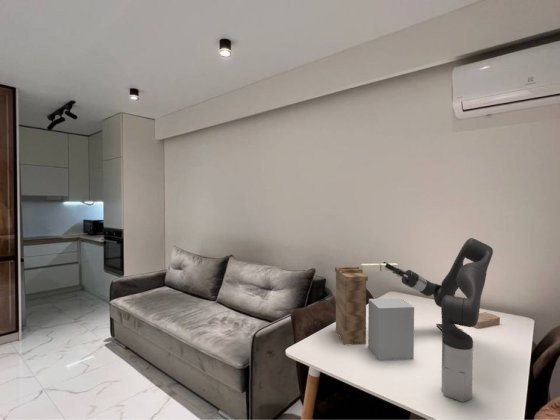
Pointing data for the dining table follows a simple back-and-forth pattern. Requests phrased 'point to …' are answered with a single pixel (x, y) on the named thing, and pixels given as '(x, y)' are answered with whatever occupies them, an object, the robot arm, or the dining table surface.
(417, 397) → the dining table surface
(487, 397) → the dining table surface
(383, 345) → the grey step block
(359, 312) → the walnut shelf
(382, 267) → the domino bar
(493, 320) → the brick
